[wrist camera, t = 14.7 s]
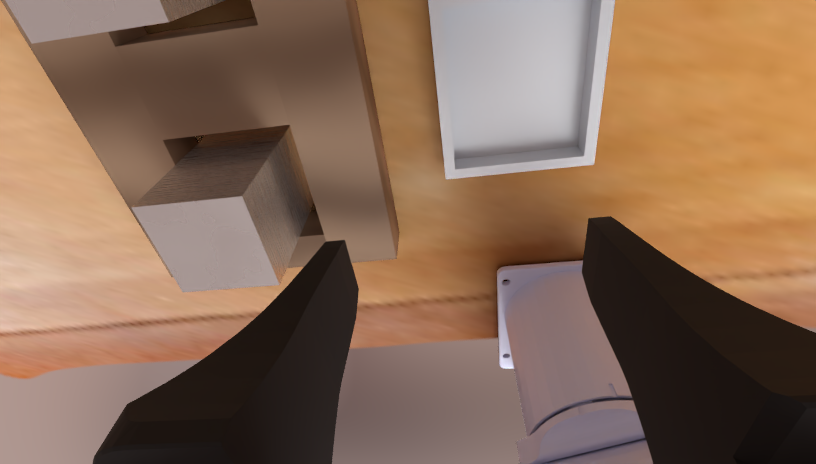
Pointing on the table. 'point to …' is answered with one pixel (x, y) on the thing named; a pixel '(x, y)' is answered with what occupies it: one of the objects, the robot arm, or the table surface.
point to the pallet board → (240, 108)
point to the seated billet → (229, 210)
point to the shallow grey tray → (519, 82)
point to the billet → (96, 15)
